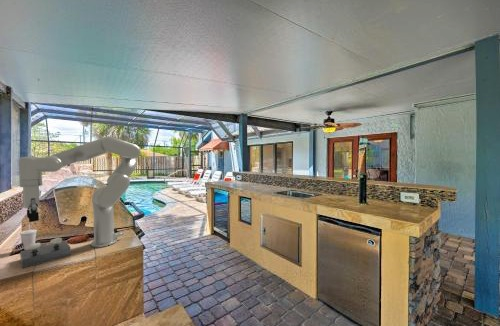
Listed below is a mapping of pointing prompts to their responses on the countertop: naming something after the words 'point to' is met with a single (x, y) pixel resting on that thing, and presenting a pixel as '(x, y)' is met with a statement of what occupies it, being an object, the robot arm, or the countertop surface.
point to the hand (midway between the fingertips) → (32, 219)
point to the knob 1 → (34, 247)
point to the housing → (44, 254)
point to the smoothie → (28, 237)
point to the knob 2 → (56, 242)
